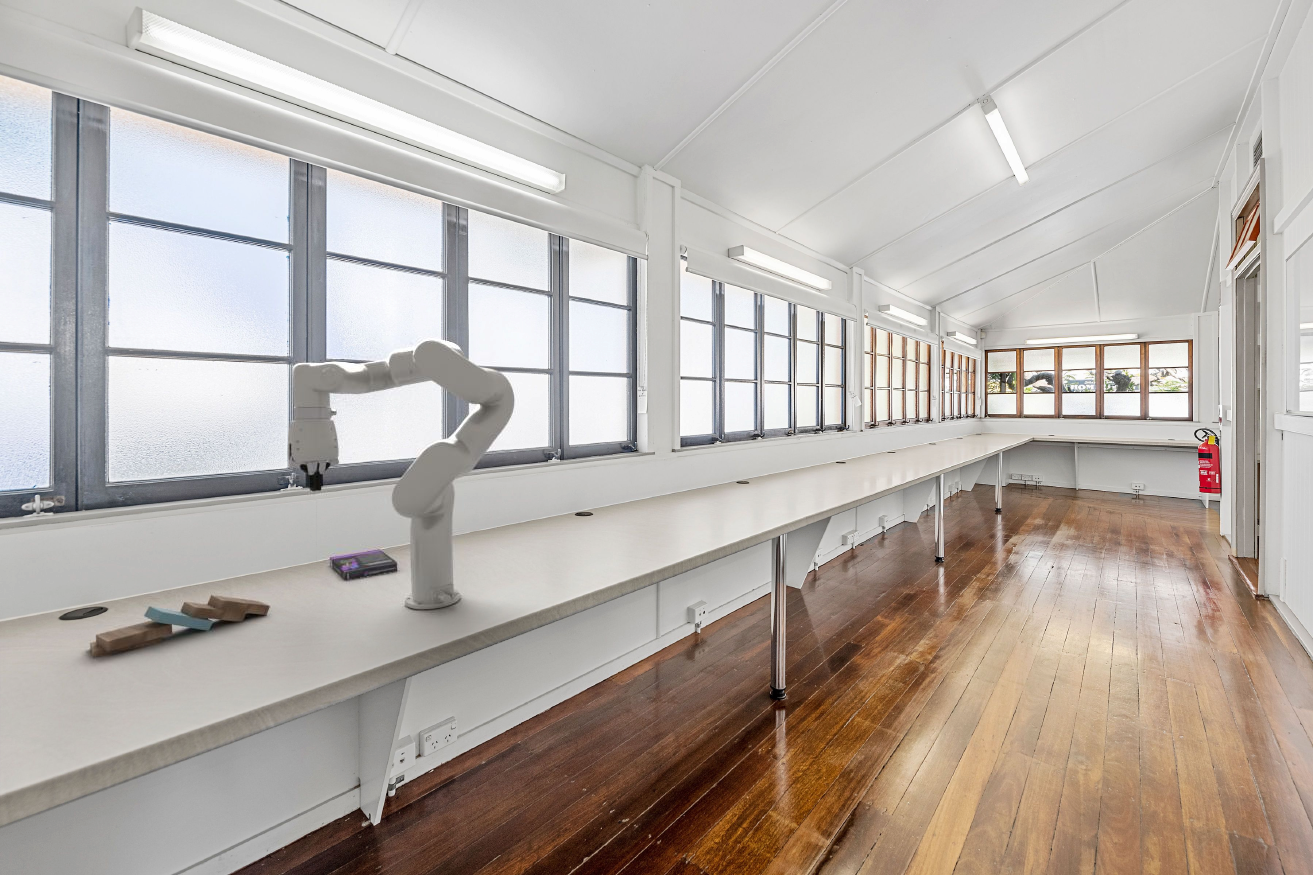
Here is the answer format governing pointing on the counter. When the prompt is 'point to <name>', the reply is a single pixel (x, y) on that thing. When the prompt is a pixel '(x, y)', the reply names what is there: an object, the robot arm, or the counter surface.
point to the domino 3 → (177, 618)
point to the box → (363, 564)
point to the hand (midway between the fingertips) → (315, 490)
